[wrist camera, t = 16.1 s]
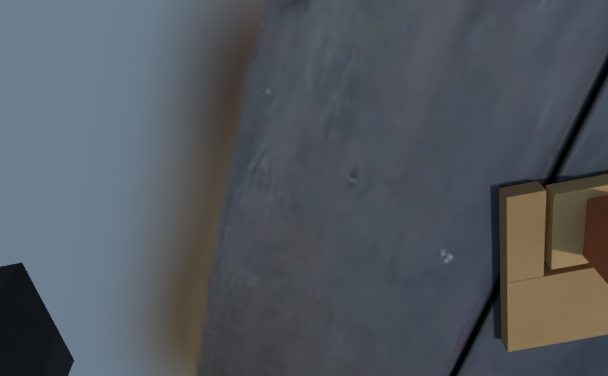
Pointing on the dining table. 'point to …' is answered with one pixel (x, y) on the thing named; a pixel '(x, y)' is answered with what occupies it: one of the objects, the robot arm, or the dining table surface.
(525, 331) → the base pad
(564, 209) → the open box
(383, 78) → the dining table surface
